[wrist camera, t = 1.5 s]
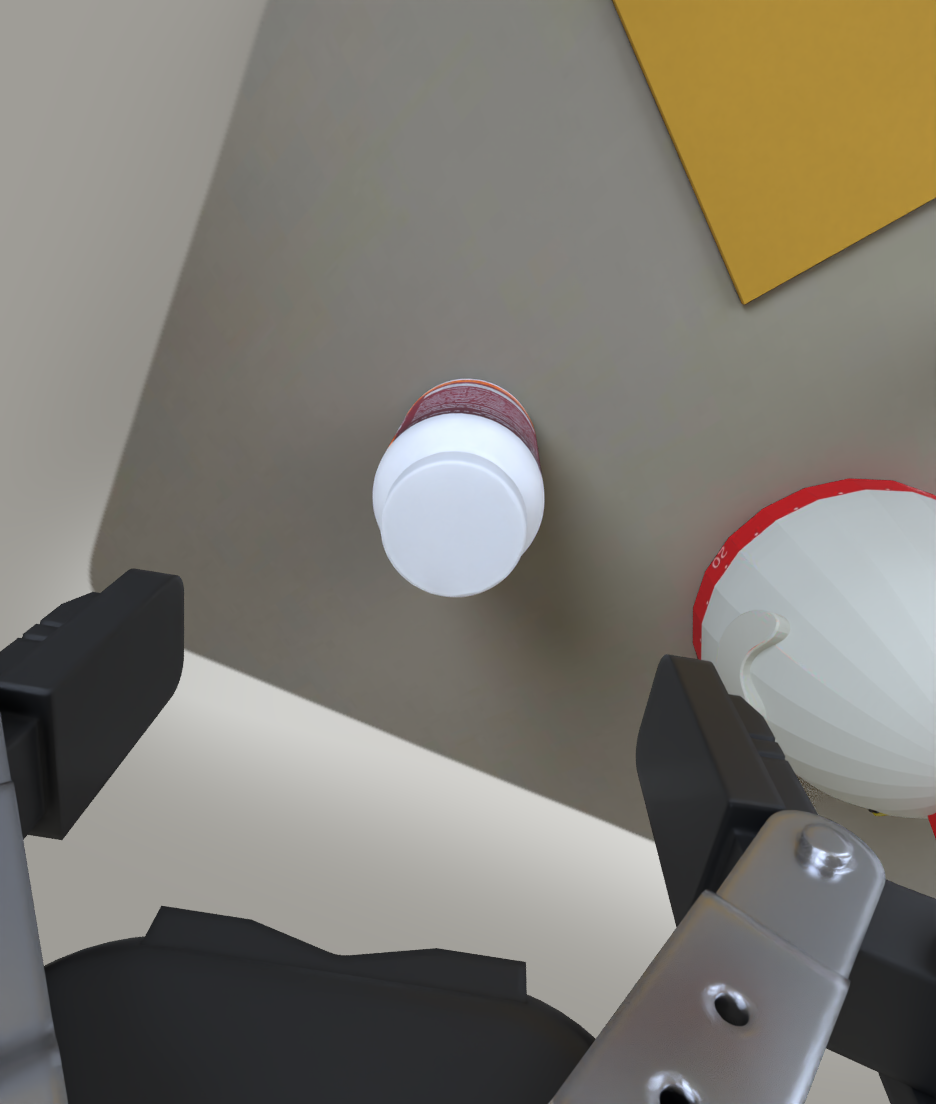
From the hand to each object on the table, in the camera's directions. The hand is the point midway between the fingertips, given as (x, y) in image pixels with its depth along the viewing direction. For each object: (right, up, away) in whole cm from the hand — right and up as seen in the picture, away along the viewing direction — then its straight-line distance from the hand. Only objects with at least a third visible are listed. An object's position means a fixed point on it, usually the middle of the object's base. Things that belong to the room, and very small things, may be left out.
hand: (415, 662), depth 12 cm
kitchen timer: (+19, -1, +24) cm, 30 cm away
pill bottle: (+1, +7, +21) cm, 22 cm away
